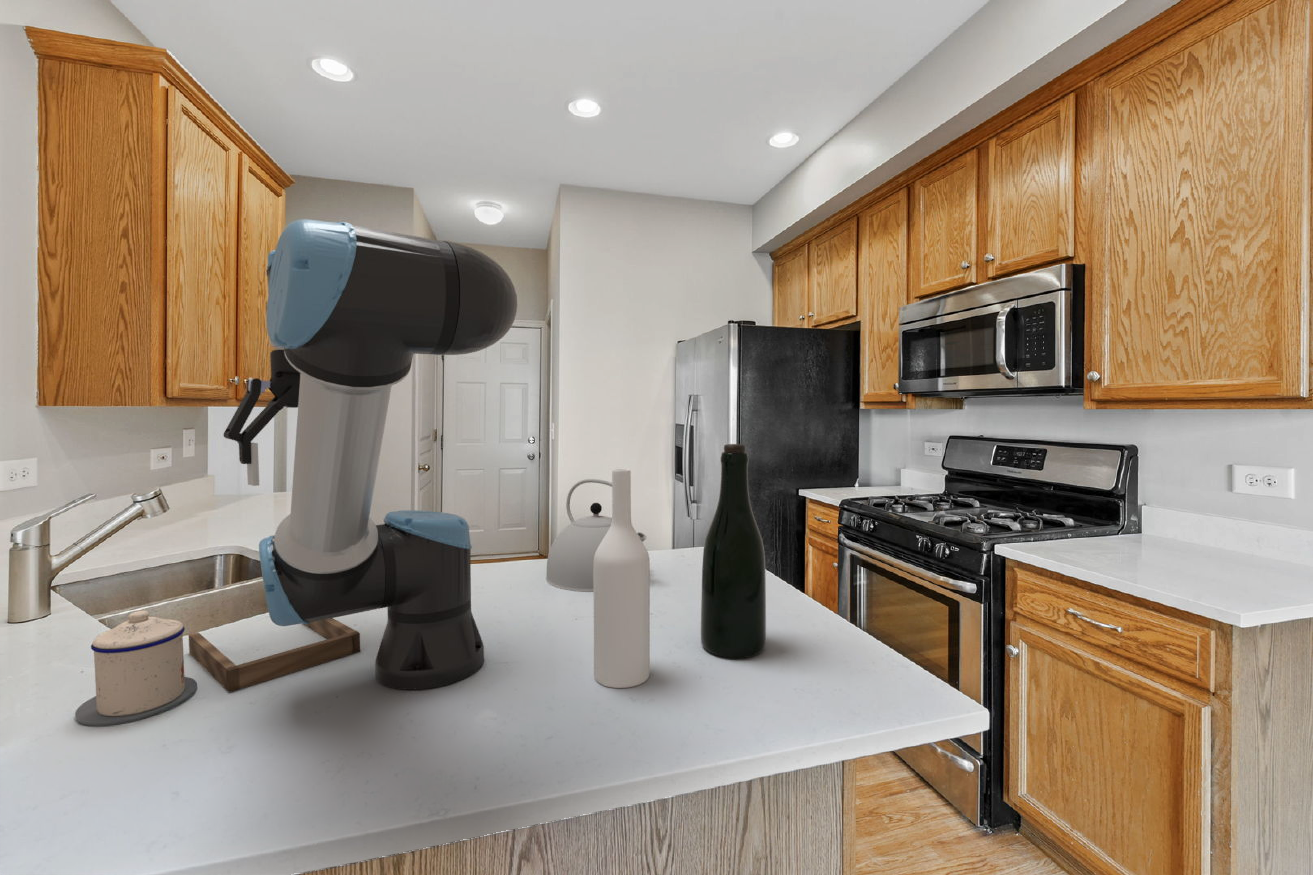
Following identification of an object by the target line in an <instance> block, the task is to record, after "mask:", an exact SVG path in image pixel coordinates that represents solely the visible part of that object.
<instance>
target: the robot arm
mask: <svg viewBox="0 0 1313 875" xmlns="http://www.w3.org/2000/svg"><path fill="white" fill-rule="evenodd" d="M266 268H267V269H265V272H266V276H267V288H268V289H267V292H268V296H267V303H266V314H265V315H266V320H265V321H266V331H267V335H268V338H269V345H270V346H271V347H272V348H274V349H273V350H271V351H270V353H269V355H270V356H269V357H270V358H269V359H270V360H269V361H270V379H269V380H263V379H260V378H250V379H248V380H247V381H246V382H247V383H246V391H245V394H244V396H243V398H242V399H241V401H240V403H239V405H238V407H237V409H236V410H235V412H234V414H233V416H232V418H231V419H230V421H229V423H228V425H227V427H226V428H225V430H224V432H223V437H224V438H225V439H227V440H232V441H234V442H237V444H238V453H239V458H238V459H239V462H240V464H242V465H246V468H247V470H246V473H247V485H250V486H252V487H255V486H260V470H259V469H260V468H259V467H260V466H259V443H258V442H253V440H254V439H255V438H256V437H257V436H258V435H259V433H260V432H262V430H263V429H264V428H266V426H267V425H268V424H269V422H270V421H271V420H273V418H274V417H275V416H276V415H277V414H278V413H279V412H280V411H282V409H284V408H290V409H291V408H294V409H296V408H297V416H296V417H297V418H296V431H295V445H294V459H293V460H294V461H293V475H292V486H291V488H292V489H291V490H292V491H291V501H290V502H291V503H290V504H291V506H290V513H289V514H288V515H287V516H286V517H285V518H283V519H282V520H281V522H280V523H279V524H278V526H277V527H276V531H275V533H274V534H273V535H270V536H268V537H264V538H262V539H261V540H260V541H259V544H258V553H259V562H260V568H261V575H262V582H263V588H264V594H265V600H266V607H267V611H268V614H269V618H270V620H271V622H272V623H273V624H275V625H276V626H278V627H279V626H280V627H288V626H294V625H301V624H302V625H304V624H310V623H311V622H316V621H321V620H326V619H331V618H333V619H336V618H340V617H345V616H348V615H354V614H359V613H364V612H368V611H369V612H370V611H374V610H379V609H384V608H386V609H387V621H386V626H385V628H384V632H383V635H382V638H381V640H380V644H379V646H378V647H379V648H378V651H377V655H376V658H375V662H374V663H375V664H374V665H375V666H374V667H375V679H376V681H378V683H380V684H381V685H382V686H385V687H388V688H391V689H396V690H424V689H432V688H438V687H442V686H447V685H449V684H454V683H455V682H458V681H461V680H463V679H465V678H467V677H470V676H471V675H473V674H475V673H476V672H477V671H478V670H479V669H480V668H481V667H482V666H483V664H484V661H485V648H484V647H485V646H484V642H483V640H482V636H481V634H480V631H479V628H478V626H477V623H476V620H475V618H474V615H473V613H472V582H471V581H472V578H471V577H472V576H471V575H472V573H471V572H472V570H471V569H472V568H471V566H472V564H471V562H472V561H471V554H472V553H471V552H472V551H471V550H472V547H473V546H472V544H471V537H470V526H469V523H468V521H467V520H466V519H465V518H463V517H462V516H460V515H457V514H453V513H449V512H441V511H431V510H430V511H429V510H413V509H412V510H410V509H408V510H405V509H404V510H396V511H389V512H387V513H386V514H385V517H384V518H383V523H382V524H375V522H374V521H373V519H372V518H371V517H370V514H371V509H372V504H373V496H374V490H375V485H376V480H377V479H376V478H377V472H378V466H379V461H380V455H381V451H382V450H381V449H382V444H383V439H384V432H385V425H386V420H387V415H388V408H389V403H390V397H391V390H392V386H394V385H396V384H398V383H400V382H402V381H403V380H405V378H406V377H407V376H408V375H409V374H410V371H411V367H412V363H413V356H414V355H437V356H454V355H456V356H458V355H467V354H472V353H476V352H479V351H482V350H484V349H487V348H489V347H491V346H493V345H495V344H496V343H497V342H499V341H500V340H502V339H503V338H504V337H505V336H506V334H507V333H508V332H509V331H510V329H511V328H512V326H513V324H514V322H515V319H516V316H517V310H518V297H517V296H518V295H517V292H516V288H515V286H514V284H513V281H512V280H511V278H510V276H509V274H508V273H507V272H506V271H505V269H504V268H503V267H502V266H501V265H500V264H499V263H497V261H496V260H494V259H492V258H491V257H490V256H489V255H486V254H485V253H483V252H481V251H480V250H477V249H475V248H473V247H470V246H467V245H464V244H461V243H457V242H452V241H447V240H437V239H432V238H426V237H421V236H416V235H412V234H411V235H410V234H409V235H408V234H404V233H398V232H392V231H387V230H382V229H381V230H380V229H376V228H371V227H366V226H360V225H359V226H358V225H352V224H351V223H350V222H346V221H335V222H331V221H325V220H323V221H322V220H316V219H315V220H314V219H306V218H305V219H304V218H302V219H297V220H294V221H291V223H289V224H288V225H287V226H286V227H285V228H284V229H283V231H282V232H281V234H280V235H279V238H278V240H277V243H276V247H275V249H274V250H271V251H269V253H268V255H267V267H266ZM267 389H268V390H269V391H270V392H271V394H272V395H273V398H272V399H271V400H270V401H269V402H268V403H267V405H266V406H265V407H264V409H262V411H261V412H259V414H258V415H257V416H256V417H254V419H253V420H252V421H251V423H249V425H247V426H246V428H244V430H242V429H243V427H244V426H245V424H246V422H247V421H248V418H249V417H250V415H251V413H252V411H253V410H254V407H255V406H256V404H257V402H258V400H259V398H260V396H261V394H264V393H265V392H266V390H267Z"/></svg>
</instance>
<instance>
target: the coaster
mask: <svg viewBox="0 0 1313 875" xmlns="http://www.w3.org/2000/svg"><path fill="white" fill-rule="evenodd" d="M184 679H185V689H184V691H183V693H182V694H181V695H180V696H179V697H177V698H176V699H174V700H173V701H171V702H169V703H167V704H165V705H163V706H160V707H158V708H155V709H152V710H149V711H145V712H141V713H137V714H132V715H126V716H105V715H102V714H100V713H99V712H98V711H97V702H96V695H95V696H93V697H92V698H89V699H88V700H87V701H85V702H84V703H82V704H80V706H78V708H77V709H76V710H75V712H74V714H75V721H76V722H77V724H80V725H82V726H86V727H108V726H109V727H110V726H117V725H123V724H128V723H131V722H136V721H140V720H143V719H147V718H151V717H154V716H157V715H159V714H162V713H164V712H167V711H170V710H171V709H173V708H176V707H177V706H180V705H181V704H184V703H185V702H187V701H188V700H190V699H191V698H192V697H193V696H194V695H196V693H197V690H198V683H197V681H196V680H195V678H192V677H189V676H184Z"/></svg>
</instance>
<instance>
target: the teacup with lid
mask: <svg viewBox="0 0 1313 875" xmlns="http://www.w3.org/2000/svg"><path fill="white" fill-rule="evenodd" d="M127 617H128V618H127V619H128V620H126V621H122V622H121V623H120V624H118V625H116V626H115V627H114V628H112V629H109V630H105V632H104V631H103V632H102V633H101V634H98V635H97V636H96V637H94V639H93V641H92V644H91V645H90V648H91V650H92V651H93V657H94V658H93V659H94V661H93V662H94V678H95V680H94V681H95V696H96V702H97V711H98V712H99V713H100V714H102V715H105V716H126V715H132V714H137V713H141V712H145V711H149V710H152V709H155V708H158V707H160V706H163V705H165V704H167V703H169V702H171V701H173V700H174V699H176V698H177V697H179V696H180V695H181V694H182V693H183V691H184V689H185V679H184V677H185V659H184V658H185V657H184V639H183V638H184V637H183V634H184V632H185V629H186V628H185V626H184V624H183V623H182V622H181V621H179V620H176V619H166V618H160V617H157V616H150V614H149V611H147V610H137V611H134V612H131V613H130V614H128V616H127Z"/></svg>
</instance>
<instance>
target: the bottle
mask: <svg viewBox="0 0 1313 875" xmlns="http://www.w3.org/2000/svg"><path fill="white" fill-rule="evenodd" d="M631 471H632V470H631V469H630V468H614V469H612V473H611V474H612V475H611V477H612V479H611V481H612V482H611V483H612V487H611V488H612V489H611V498H612V500H611V503H612V506H611V508H612V509H611V510H612V511H611V513H612V514H611V518H612V523H611V526H610V528H609V530H608V532H607V533H606V535H605V537H604V538H603V540H602V542H601V543H600V545H599V547H598V548H597V550H596V552H595V555H594V566H593V579H594V592H593V677H594V680H596V682H597V683H598V684H600V685H602V686H604V687H608V688H613V689H627V688H632V687H637V686H640V685H642V684H644V683H645V682H647V681H648V679H649V677H650V671H651V670H650V669H651V668H650V667H651V666H650V665H651V663H650V662H651V660H650V658H651V655H650V654H651V650H650V649H651V648H650V647H651V646H650V645H651V644H650V643H651V642H650V641H651V638H650V637H651V636H650V635H651V631H650V630H651V629H650V628H651V627H650V626H651V622H650V621H651V619H650V616H651V611H650V610H651V607H650V606H651V602H650V600H651V599H650V598H651V588H650V587H651V584H650V582H651V579H650V578H651V577H650V576H651V573H650V572H651V568H650V567H651V566H650V565H651V563H650V556H649V552H648V549H647V548H646V546H645V544H644V541H643V542H642V541H641V539H640V538H639V536H638V534H637V533H638V532H636V530H635V528H634V526H633V523H632V506H631V505H632V502H631V501H632V496H631V494H632V492H631V491H632V488H631V487H632V484H631V483H632V482H631V481H632V480H631V479H632V477H631V473H632V472H631Z"/></svg>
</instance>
